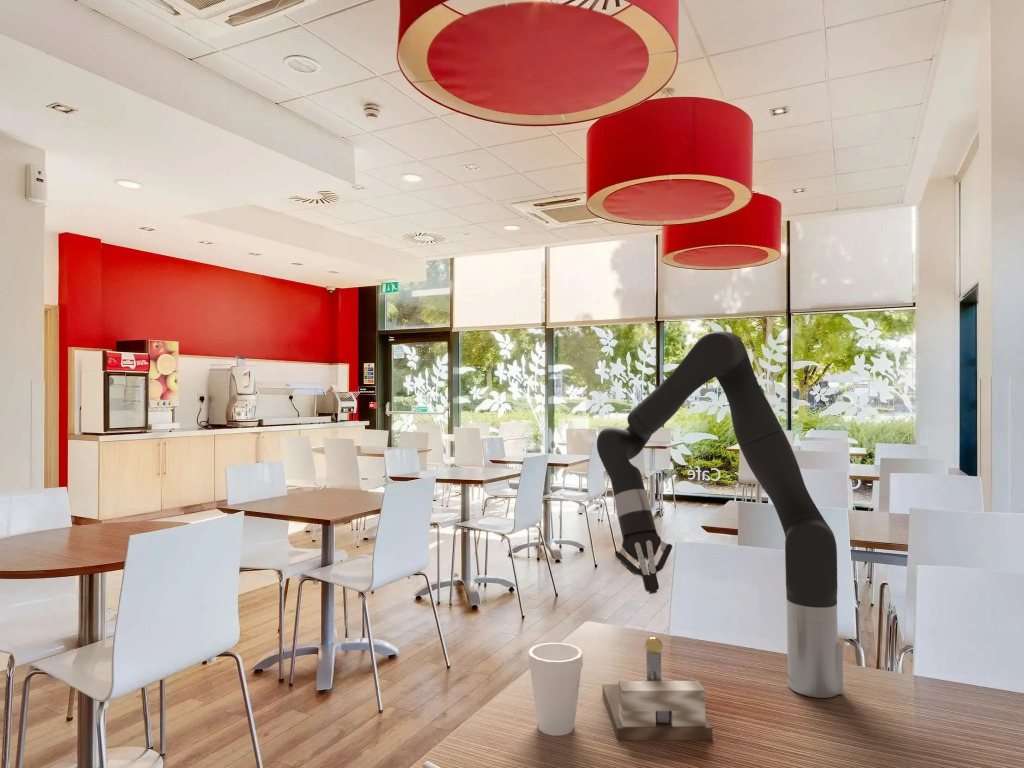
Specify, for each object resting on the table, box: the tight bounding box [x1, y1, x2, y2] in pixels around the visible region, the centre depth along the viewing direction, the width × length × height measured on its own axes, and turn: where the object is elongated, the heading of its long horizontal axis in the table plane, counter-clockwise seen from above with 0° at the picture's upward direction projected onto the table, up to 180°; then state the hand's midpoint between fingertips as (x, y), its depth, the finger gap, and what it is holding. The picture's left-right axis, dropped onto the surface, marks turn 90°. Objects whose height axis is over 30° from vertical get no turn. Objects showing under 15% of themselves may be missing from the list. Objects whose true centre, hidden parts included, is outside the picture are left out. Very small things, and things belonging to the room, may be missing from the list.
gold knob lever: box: [644, 636, 669, 723], centre depth 120 cm, size 3×9×12 cm, turn 0°
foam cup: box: [528, 642, 584, 737], centre depth 119 cm, size 10×9×13 cm
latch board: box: [601, 680, 713, 741], centre depth 123 cm, size 16×18×8 cm
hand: (653, 593), depth 144 cm, fingers closed
